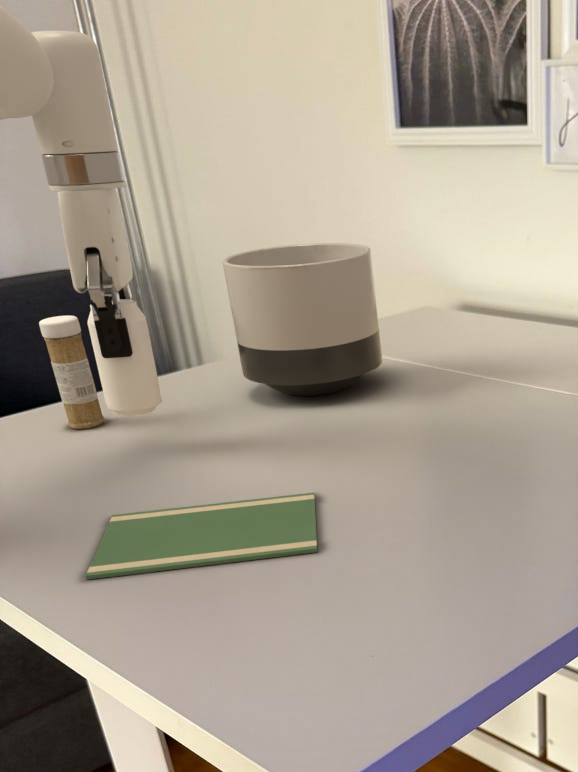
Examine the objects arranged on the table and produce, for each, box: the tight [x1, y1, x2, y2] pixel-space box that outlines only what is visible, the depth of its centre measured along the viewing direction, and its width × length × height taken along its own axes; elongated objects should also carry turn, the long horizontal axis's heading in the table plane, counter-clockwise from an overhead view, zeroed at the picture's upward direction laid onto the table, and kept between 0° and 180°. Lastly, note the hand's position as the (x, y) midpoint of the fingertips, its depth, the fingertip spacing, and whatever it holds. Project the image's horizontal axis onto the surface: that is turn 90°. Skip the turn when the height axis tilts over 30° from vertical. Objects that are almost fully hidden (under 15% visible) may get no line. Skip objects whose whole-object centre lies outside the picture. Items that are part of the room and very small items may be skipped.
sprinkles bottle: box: [38, 315, 105, 430], centre depth 118 cm, size 5×5×14 cm
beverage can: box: [87, 299, 163, 417], centre depth 106 cm, size 6×6×12 cm
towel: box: [85, 492, 319, 580], centre depth 88 cm, size 20×14×1 cm
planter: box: [222, 242, 383, 397], centre depth 127 cm, size 19×19×18 cm
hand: (122, 348), depth 105 cm, fingers closed on beverage can, 6 cm apart
